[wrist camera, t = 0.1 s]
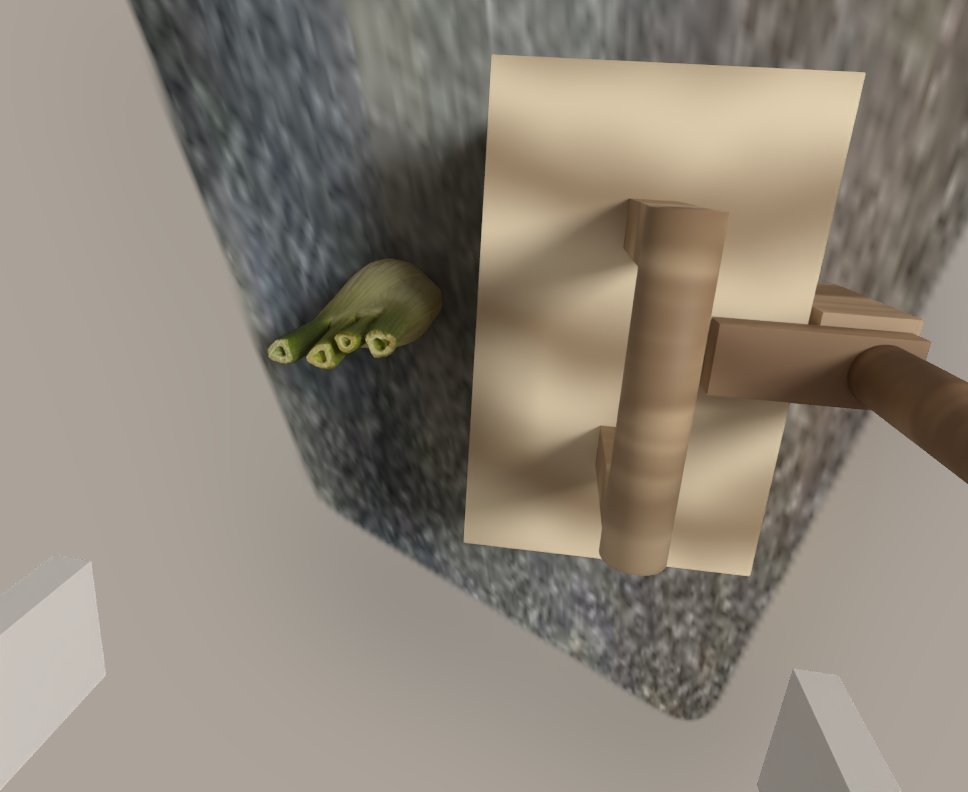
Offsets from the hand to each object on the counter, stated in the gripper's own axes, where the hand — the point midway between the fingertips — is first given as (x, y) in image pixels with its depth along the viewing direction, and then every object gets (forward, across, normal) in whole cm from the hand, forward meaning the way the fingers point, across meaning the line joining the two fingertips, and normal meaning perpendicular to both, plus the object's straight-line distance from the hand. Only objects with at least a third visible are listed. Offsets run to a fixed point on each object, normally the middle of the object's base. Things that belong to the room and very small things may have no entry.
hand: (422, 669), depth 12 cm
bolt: (+18, +12, +2) cm, 22 cm away
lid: (+20, +5, +2) cm, 21 cm away
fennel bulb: (+28, -7, +1) cm, 29 cm away
